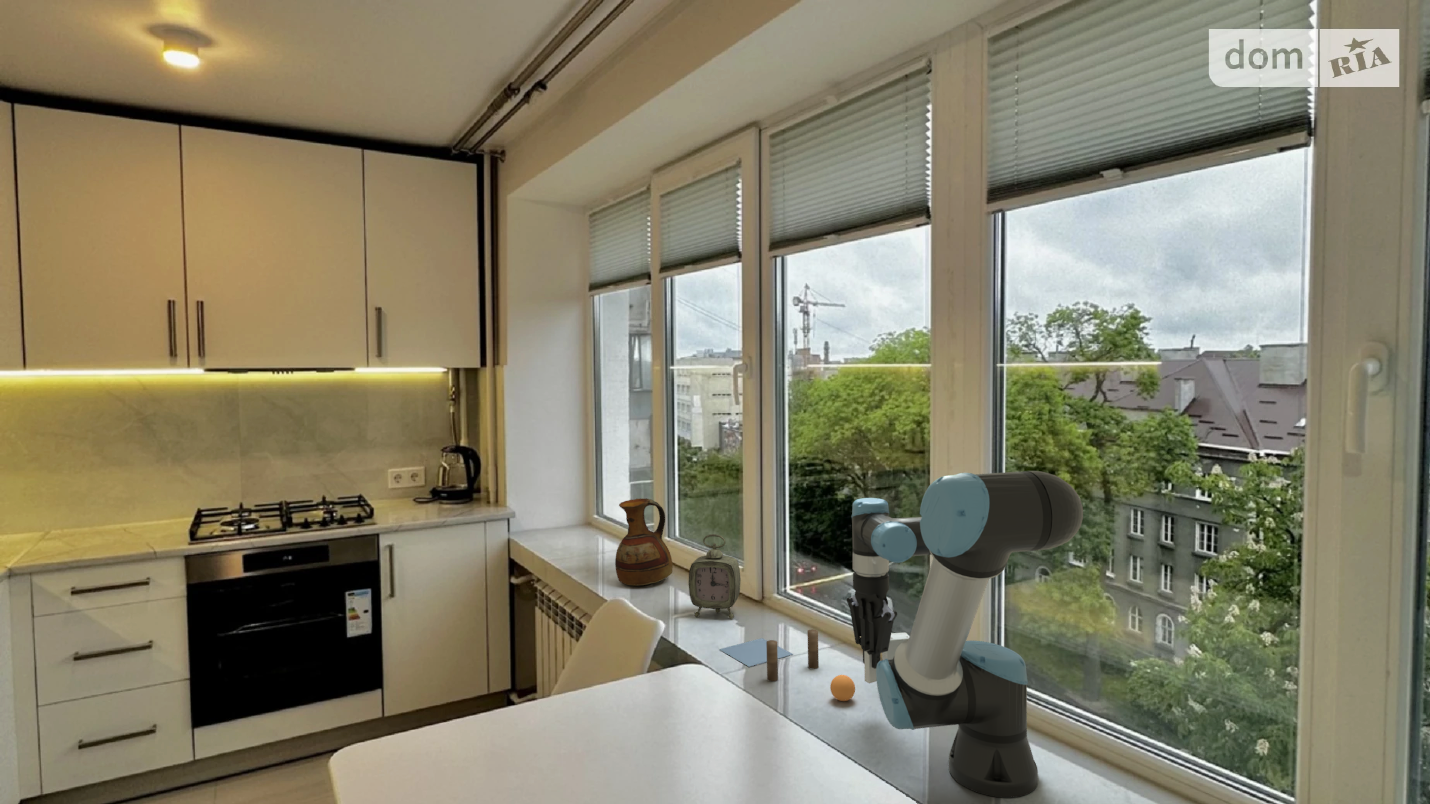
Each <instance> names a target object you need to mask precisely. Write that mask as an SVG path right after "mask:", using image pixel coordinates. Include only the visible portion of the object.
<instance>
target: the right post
mask: <svg viewBox="0 0 1430 804" xmlns="http://www.w3.org/2000/svg"><path fill="white" fill-rule="evenodd" d="M819 659H820V658H819V630H817V629H814V628H813V629H808V630H807V668H808V669H810V668H811V669H810V670H817V669H819V667H820V666H819V661H820V660H819Z"/></svg>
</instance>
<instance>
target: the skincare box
mask: <svg viewBox="0 0 1430 804" xmlns="http://www.w3.org/2000/svg"><path fill="white" fill-rule="evenodd" d="M909 637H910V635H909V634H908V633H907V632H895V633H892V632H891V638H890V643H889V648H888V651H886V652H883V653H881V656H882V657H881V658H882V660H885V659H888V660H891V659H893V658H894V655H895V652H896V649H897V648H898V646H899V645H900V644H901V643H902V642H904V641H905V640H907V639H909Z"/></svg>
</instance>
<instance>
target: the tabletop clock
mask: <svg viewBox="0 0 1430 804" xmlns="http://www.w3.org/2000/svg"><path fill="white" fill-rule="evenodd" d="M711 537H717V538H720V539H722V540H723V544H720V545H717V543H715V542H713V543H712V545H710V544H707V543H706V542H705V541H706V539H707V538H711ZM702 543H703V545H704V546H705V547H707V548H709V550H708V551H707V553H706V555H701V556H698V557H697V558H696V559H695V560H694V561H693V562H692V563H690V564H691V565H690V567H689V572H688V592H689V593H688V594H689V598H690V602H691V603H692V605H693V606H695V607H698V609H697V611H695V612H694V614H693V615H694V617H695V618H698V617H700V616H701V615H700V612H701V610H702V609H710V610H714V612H715V614H720V613H721V610H723V609H724V610H725V609H726V610H727V612H728V618H729V619H730V620H733V619H735V615H734V614H733V613H732V611H731V608H733V606H734V605H735V603H736V602H737V600H738V599H739V596H740V591H741V581H742V580H741V572H740V564H739V562H738V559H737V558H734V557H733V556H729V555H724V553H723V552H722V550H721V549H720V548H723V547H724V546H725V544H726V539H725V538H724V537H723V536H722V535H721V534H717V533H711V534H707V535H705V536H704V537H703V540H702Z"/></svg>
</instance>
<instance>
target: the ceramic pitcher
mask: <svg viewBox="0 0 1430 804" xmlns="http://www.w3.org/2000/svg"><path fill="white" fill-rule="evenodd" d="M648 506H654V507H655V508H657V511H658V514H659V515H658V517H659V521H658V525H657V528H656V529H655V531H653V530H650V529H649V527H648V526H647V523H646V519H645V509H646V508H647V507H648ZM618 507H619V508H621V509H622V510H623V511H624V512H625V516H626V519H625V520H626V523H627V525H628V528H627V534H626V535H625V536H623V538H622V540H621V541H620V543H619V545H618V546H617V550H616V551H615V552H616V553H615V563H614V564H615V565H614V566H615V572H616V576H617V579H618V581H619V582H621V583H622V584H624V585H627V586H628V585H629V586H644V585H645V586H646V585H650V584H655V583H658V582H660V581H662V580H665V579H666V578H668V577H670V576H671V575H672V574H673V559H672V555H671V551H670V549H669V548H668V546H667V545H666V543H665V542H664V540H663V533H664V530H665V529H664V528H665V525H666V514H665V513H666V512H665V510H664V508H663V506H661V505H660V503H659V502H657V501H655V500H653V499H651V498H642V497H641V498H634V499H628V500H625V501H622V502H620V503H619V505H618Z"/></svg>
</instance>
